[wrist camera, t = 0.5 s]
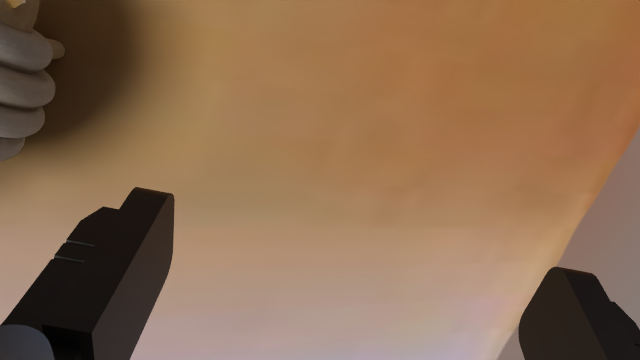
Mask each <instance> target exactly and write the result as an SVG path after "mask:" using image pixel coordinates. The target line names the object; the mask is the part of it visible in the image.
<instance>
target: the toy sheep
mask: <svg viewBox="0 0 640 360" xmlns="http://www.w3.org/2000/svg"><path fill="white" fill-rule="evenodd" d="M39 5H40V0H0V161H3V160H6V159H9V158H12V157H13V156H15V155H17V154H18V153H19V152H20V151H21V149H22V148H23V146H24V143H25V137H27V136H30V135H32V134H34V133H36V132H37V131H39V130H40V129H41V127H42V126H43V124H44V121H45V114H44V110H43V108H42V106H43V105H45V104H47V103H49V102H50V101H51V100H52V99H53V97H54V95H55V83H54V81H53V79H52V78H51V76H50V75H49V74H48V73H47V72H46V71H45V70H44V68H46V67H47V66H48V65H49V64H50V62H51V60H52V59H60V58H62V57H63V56H64V53H65V48H64V46H63V44H62V43H61V42H59V41H57V40H53V39H48V38H44V37H43V36H42V35H41V34H40V33H38V32H37V31H36V30H34V29H33V26H34V24H35V21H36V19H37V15H38V10H39Z"/></svg>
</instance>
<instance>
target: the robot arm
mask: <svg viewBox="0 0 640 360" xmlns="http://www.w3.org/2000/svg"><path fill="white" fill-rule="evenodd" d="M173 233H174V196H173V194H171V193H165V192H160V191H155V190H149V189H144V188H139V187H135V188H134V189H133V190H132V191H131V192H130V194H129V195H128V197H127V198H126V200H125V201H124V203H123V204H122V206H121V207H120V209H113V208H108V207H102V208H100V209H99V210H97V211H96V212H94V213H92V214H91V215H89V216H87V217H86V218H84V219H83V220H81V221H80V222H79V224H78V225H77V226H76V228H75V229H74V230H73V232H72V233H71V234H70V235H69V237H68V238H67V241H66V243H63V245H62V246H61V247H60V249H59V250H58V251H57V253H56V254H55V257H54V259H51V260H50V262H49V263H48V264H47V266H46V267H45V268H44V270H43V271H42V272H41V274H40V275H39V276H38V278H37V279H36V280H35V282H34V283H33V284H32V285H31V287H30V288H29V289H28V291H27V292H26V293H25V295H24V296H23V297H22V299H21V300H20V301H19V303H18V304H17V305H16V307H15V308H14V309H13V310H12V312H11V313H10V314H9V316H8V317H7V318H6V320H5V321H4V322H3V323H2V324H1V325H0V360H130V357H131V355H132V353H133V351H134V349H135V346H136V344H137V342H138V340H139V338H140V335H141V333H142V331H143V329H144V327H145V324H146V322H147V320H148V318H149V316H150V313H151V311H152V309H153V307H154V305H155V302H156V300H157V298H158V296H159V294H160V291H161V289H162V287H163V285H164V283H165V280H166V278H167V275H168V272H169V269H170V265H171V260H172V254H173ZM519 342H520V346H521V349H522V352H523V355H524V358H525V360H640V330H639V328H638V327H637V325H636V323H635V322H634V321H633V320H632V319H631V318H630V317H629V316H628V315H627V314H626V313H625V312H624V311H623V310H622V309H621V308H620V307H619V306H618V305H617V304H616V303H615V302H611V301H610V300H609V298H608V296H607V294H606V293H605V291H604V289H603V287H602V286H601V284H600V282H599V280H598V279H597V277H596V276H595V275H593V274H592V273H588V272H582V271H577V270H572V269H566V268H561V267H553V268H551V269H550V270H549V271H548V272H547V274H546V275H545V277H544V279H543V281H542V282H541V284H540V286H539V287H538V289H537V291H536V292H535V294H534V296H533V297H532V299H531V301H530V302H529V304H528V306H527V307H526V309H525V311H524V313H523V314H522V317H521V319H520V323H519Z"/></svg>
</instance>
